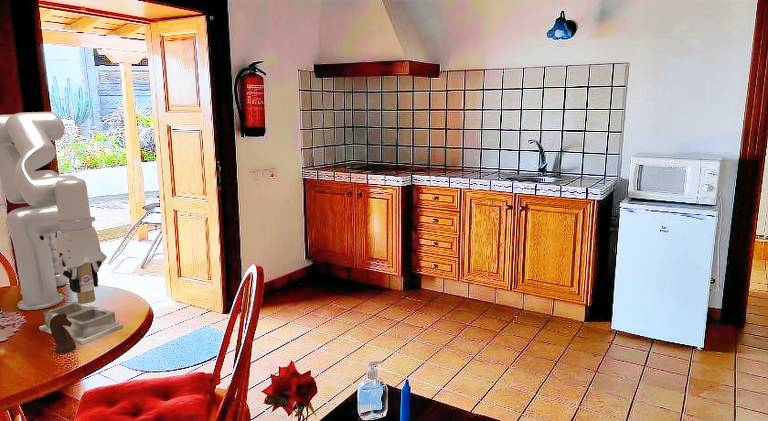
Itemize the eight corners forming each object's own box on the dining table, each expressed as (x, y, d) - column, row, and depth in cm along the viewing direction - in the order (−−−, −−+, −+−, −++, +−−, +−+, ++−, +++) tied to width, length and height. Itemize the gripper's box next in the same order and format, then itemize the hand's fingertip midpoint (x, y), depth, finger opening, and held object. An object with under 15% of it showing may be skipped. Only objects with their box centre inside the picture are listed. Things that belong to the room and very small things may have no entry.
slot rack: (39, 330, 154) (37, 313, 153) (80, 315, 164) (78, 299, 163) (82, 344, 144) (79, 327, 143) (122, 327, 154) (120, 311, 153)
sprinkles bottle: (84, 305, 147) (77, 257, 144) (73, 302, 149) (67, 255, 146) (99, 299, 151) (93, 253, 148) (89, 297, 153) (83, 251, 150)
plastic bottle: (58, 289, 186) (50, 233, 182) (41, 288, 188) (32, 232, 184) (72, 283, 193) (64, 229, 188) (56, 282, 194) (48, 228, 190)
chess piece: (75, 351, 140) (70, 315, 138) (52, 355, 138) (47, 319, 136) (76, 344, 144) (71, 309, 142) (54, 348, 142) (49, 312, 140)
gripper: (96, 217, 154) (104, 278, 158) (35, 230, 140) (46, 296, 144) (113, 219, 151) (121, 281, 154) (52, 233, 136) (62, 301, 140)
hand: (84, 288), depth 149 cm, fingers closed on sprinkles bottle, 4 cm apart
